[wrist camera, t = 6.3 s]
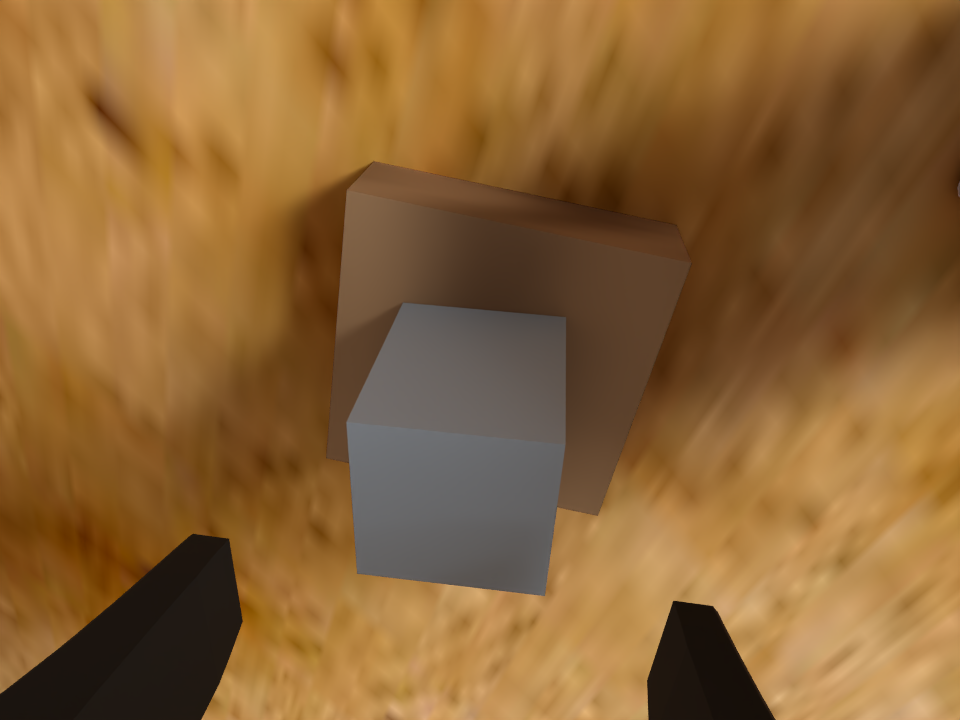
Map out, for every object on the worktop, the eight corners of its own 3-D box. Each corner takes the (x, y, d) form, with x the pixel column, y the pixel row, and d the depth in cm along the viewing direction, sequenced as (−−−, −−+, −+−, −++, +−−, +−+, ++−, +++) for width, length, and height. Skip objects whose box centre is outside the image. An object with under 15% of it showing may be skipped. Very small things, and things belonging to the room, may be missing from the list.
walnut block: (673, 219, 18) (692, 262, 15) (594, 450, 22) (597, 515, 20) (378, 156, 18) (346, 189, 15) (354, 400, 22) (326, 458, 20)
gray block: (566, 317, 16) (565, 444, 12) (549, 447, 18) (544, 596, 14) (403, 302, 17) (346, 421, 12) (405, 432, 19) (357, 573, 14)
